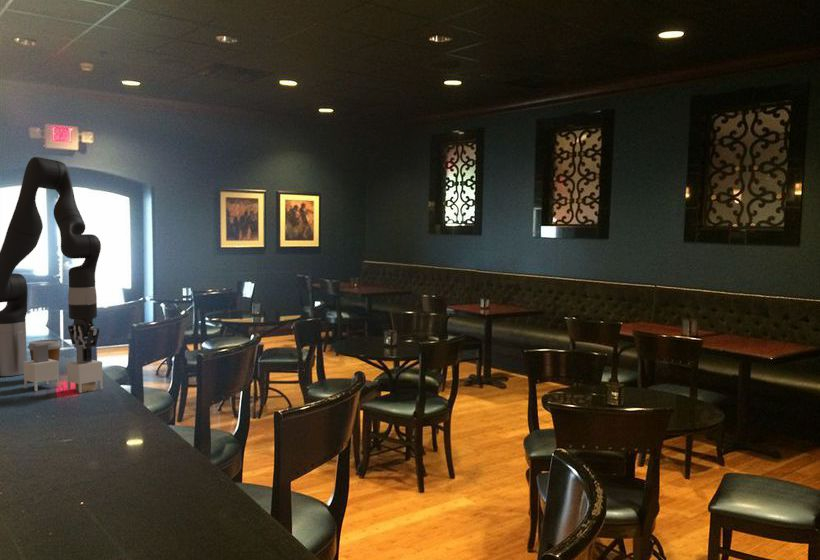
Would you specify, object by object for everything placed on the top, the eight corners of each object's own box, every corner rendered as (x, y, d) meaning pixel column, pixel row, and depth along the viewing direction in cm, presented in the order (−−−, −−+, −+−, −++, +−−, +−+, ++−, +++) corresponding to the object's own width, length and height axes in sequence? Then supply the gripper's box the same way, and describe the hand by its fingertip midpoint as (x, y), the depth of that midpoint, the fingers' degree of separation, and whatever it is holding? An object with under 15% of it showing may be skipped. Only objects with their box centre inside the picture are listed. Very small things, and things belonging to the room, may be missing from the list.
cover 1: (24, 388, 207) (22, 345, 206) (48, 384, 212) (46, 342, 211) (35, 391, 203) (33, 347, 202) (59, 387, 208) (57, 344, 207)
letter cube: (75, 390, 204) (75, 377, 203) (88, 388, 207) (88, 374, 206) (82, 392, 201) (82, 378, 201) (95, 390, 204) (95, 376, 204)
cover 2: (67, 389, 203) (66, 345, 202) (90, 385, 209) (89, 342, 208) (79, 392, 199) (78, 348, 198) (102, 388, 205) (101, 345, 204)
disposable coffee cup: (37, 383, 213) (36, 345, 213) (23, 379, 219) (22, 342, 218) (68, 378, 221) (67, 341, 220) (53, 374, 227) (52, 338, 226)
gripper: (57, 301, 203) (59, 359, 205) (82, 304, 195) (84, 365, 196) (82, 299, 209) (84, 356, 211) (107, 302, 201) (109, 361, 202)
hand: (84, 360), depth 203 cm, fingers closed on cover 2, 3 cm apart
